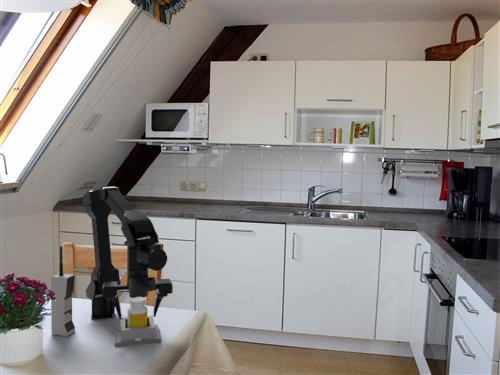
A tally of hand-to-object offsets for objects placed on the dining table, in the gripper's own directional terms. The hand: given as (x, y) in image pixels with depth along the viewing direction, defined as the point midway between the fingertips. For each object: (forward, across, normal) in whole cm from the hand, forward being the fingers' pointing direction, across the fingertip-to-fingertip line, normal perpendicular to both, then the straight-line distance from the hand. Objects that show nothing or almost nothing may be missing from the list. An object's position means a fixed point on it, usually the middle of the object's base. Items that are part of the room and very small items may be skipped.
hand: (137, 317), depth 121 cm
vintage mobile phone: (+6, -20, +7) cm, 22 cm away
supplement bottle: (+5, 0, 0) cm, 5 cm away
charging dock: (+5, 0, 0) cm, 5 cm away
